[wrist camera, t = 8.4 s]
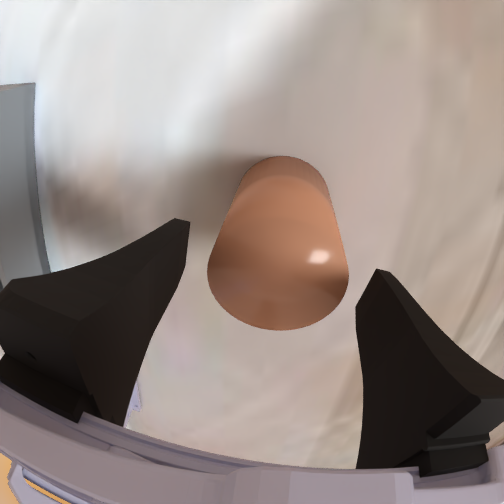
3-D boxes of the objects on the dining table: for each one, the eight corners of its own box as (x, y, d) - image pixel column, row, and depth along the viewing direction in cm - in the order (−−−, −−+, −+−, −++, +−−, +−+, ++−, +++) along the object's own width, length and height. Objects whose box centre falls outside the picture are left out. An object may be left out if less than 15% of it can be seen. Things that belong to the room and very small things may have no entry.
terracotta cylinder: (313, 249, 18) (319, 340, 12) (229, 228, 18) (200, 313, 12) (341, 170, 16) (371, 239, 10) (247, 145, 15) (218, 200, 10)
